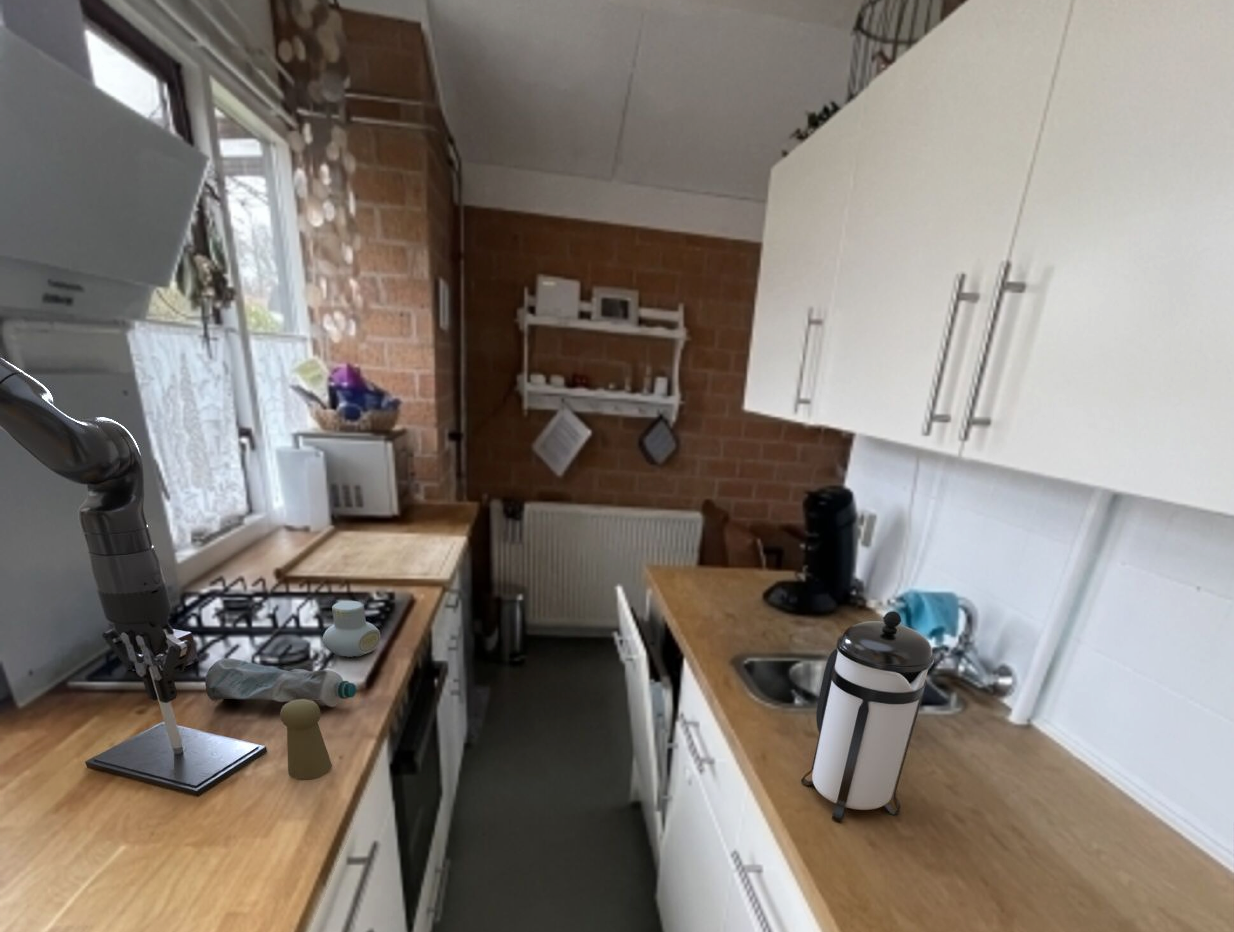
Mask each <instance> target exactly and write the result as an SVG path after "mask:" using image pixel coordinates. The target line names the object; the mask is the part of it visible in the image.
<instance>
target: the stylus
mask: <svg viewBox="0 0 1234 932" xmlns="http://www.w3.org/2000/svg"><path fill="white" fill-rule="evenodd" d="M160 668H161V666H160ZM149 670H150V674H151V677H152V681H153V684H154V688H155V691H156V695H157V698H158V700H157V702H158V705H159V709H160V712H161V715H162V718H163V722H164V723H165V726H166V730H167V733H168V737H169V740H170V743H171V747H172V748H173V751H174V753H175V754H180V753H182V752H183V748H182V741H181V737H180V734H179V730H178V727H177V725H178V723H177V720H176V716H175V712H174V710H173V706H172V701H170V702H168V703H164V702H160V700H159V696H158V693H157V689H156V686H155V682H154V679H155V678H154V677H153V674H152V670H151V667H149Z"/></svg>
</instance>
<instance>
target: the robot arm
mask: <svg viewBox="0 0 1234 932" xmlns="http://www.w3.org/2000/svg"><path fill="white" fill-rule="evenodd" d="M0 429H1V430H2V431H4V432H5V433H6V434H7V435H8V436H9V437H10V438H11V439H12V440H13V441H14V442H15V443H16V444H18V446H19V447H21V448H22V449H23V450H24V451H25V452H26V453H28V454H29V455H30V456H31V457H32V458H33V459H35V460H36V461H37V462H38V463H39V464H40V465H42V466H43V467H45V468H46V469H47V470H48V471H51V472H52V473H53V474H55V475H57V476H59V477H60V478H63V479H65V480H67V481H69V482H72V483H75V484H78V485H84V486H85V487H86V497H85V500H84V501H83V502H82V504H81V505H80V506H79V508H78V509H77V520H78V524H79V528H80V531H81V534H82V537H83V538H82V539H83V542H84V544H85V547H86V551H87V555H88V560H89V567H90V572H91V575H92V578H93V582H94V585H95V588H96V592H97V595H98V598H99V601H100V605H101V608H102V610H103V613H104V614H103V615H104V617H105V619H106V620H107V621H108V622H110V623H112V624H113V627H114V628H113V629H110V630H107V631H105V632H103V633H102V637H103V640H105V642H106V644H107V645H108V646H109V647H110V648H111V650H112V651H113V652H114V654H115V656H117V658H118V659H119V660H120V662H121V663H122V664H123V666H124V667H125V669H126V668H127V669H128V670H133V669H134V670H135V671H136V672H135V673H136V674H137V676H139V677H141V680H142V683H143V686H144V690H145V692H146V694H147V697H148V699H149V700H151V701H158V698H157V695H156V691H155V688H154V684H153V681H152V677H151V674H150V670H149V667H151V670H152V674H153V677H154V678H155V679H154V682H155V686H156V689H157V693H158V696H159V700H160V702H164V703H168V702H170V701H171V702H172V701H174V700H176V698H177V697H178V691H177V687H176V684H175V680H174V676H175V675H178V674H181V673H183V672H184V671H185V668H186V667H185V666H186V663H187V660H188V657H189V654H190V651H191V648H192V644H191V642H190V641H188V640H185V641H183V642H182V641H180V640H179V639H178V638H176V637H175V636H174V631H173V629H174V628H173V627H172V626H171V625H170V623H169V616H170V614H171V613H172V611H173V610H172V609H173V608H172V604H171V600H170V596H169V593H168V589H167V584H166V581H165V577H164V572H163V570H162V565H161V562H160V559H159V557H158V554H157V553H156V550H155V546H154V544H153V539H152V536H151V533H150V529H149V524H148V522H147V518H146V516H145V481H144V480H145V479H144V464H143V459H142V455H141V452H140V449H139V447H138V445H137V442H136V440H135V439H134V437H133V435H132V434H131V433H130V432H129V431H128V430H127V429H126V428H125V426H123V425H122V424H120V423H118V422H117V421H114V420H113V419H110V418H107V417H99V416H98V417H89V418H84V419H79V420H75V419H74V418H71V417H70V416H68V415H66V414H65V413H64V412H62V411H61V410H59V409H58V408H57V407H55V405H54V399H53V396H52V394H51V393H50V391H49V390H48V388H47V387H46V386H44V385H43V384H42V383H40V382H39V381H38V380H37V379H35V378H34V377H32V376H30V375H29V374H27V373H26V372H24V371H23V370H22V369H20V368H18V367H17V366H15V365H13V364H11V363H10V362H8V360H5V359H4V358H2V357H1V356H0ZM127 652H128V655H127V654H126V653H127ZM128 656H129V657H128ZM162 662H163V664H164V667H163V669H161V668H160V664H161V663H162ZM127 669H126V670H127ZM128 670H127V671H128Z"/></svg>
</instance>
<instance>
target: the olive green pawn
mask: <svg viewBox="0 0 1234 932" xmlns="http://www.w3.org/2000/svg"><path fill="white" fill-rule="evenodd" d="M279 715H280V716H279V717H280V720H281V722H282V724H283V725H284V726H285V727H286V748H287V749H286V750H287V773H288V776H289V777H291V778H293V779H295V780H302V781H306V780H307V781H308V780H313V779H317V778H320V777H323V776H324V775H326V774H327V773H329V772H330V771H331V770H332V767H333V764H332V761H331V758H330V755H329V752H328V749H327V745H326V743H325V740H324V737H323V734H322V731H321V728H320V725H319V722H320V719H321V710H320V707H319V705H318V704H317V703H316V702H315V701H314V700H307V699H298V700H293V701H290V702H286V703H285V704H284V705H282V707H281V709H280V714H279Z"/></svg>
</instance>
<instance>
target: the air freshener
mask: <svg viewBox="0 0 1234 932" xmlns="http://www.w3.org/2000/svg"><path fill="white" fill-rule="evenodd" d="M331 608H332V609H331V610H332V618H333V624H331V625H330V626H329V627H328V628H327V629H326V630H325V632H324V633H323V636H322V643H323V646H324V647H325V649H327V650H328V651H329V652H331V653H333V654H335V655H337V656H339V657H340V656H341V657H345V656H346V658H347V657H348V658H354V657H353V656H356V657H361V656H360V655H364V654H366V655H368V654H369V653H371V652H372V651H374V650H375V649H376V648H377V647H378V645H380V641H381V639H382V637H381V632H380V630H379V629H378V628H377V627H376V626H375V625H374V624H372V623H370V622H369V621H366V613H365V605H364V604H363V603H362V602H360V601H358V600H357V601H356V600H342V601H339V602H336V603H335V604H333V605H332V607H331ZM367 653H368V654H367ZM364 656H365V655H364Z"/></svg>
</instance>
